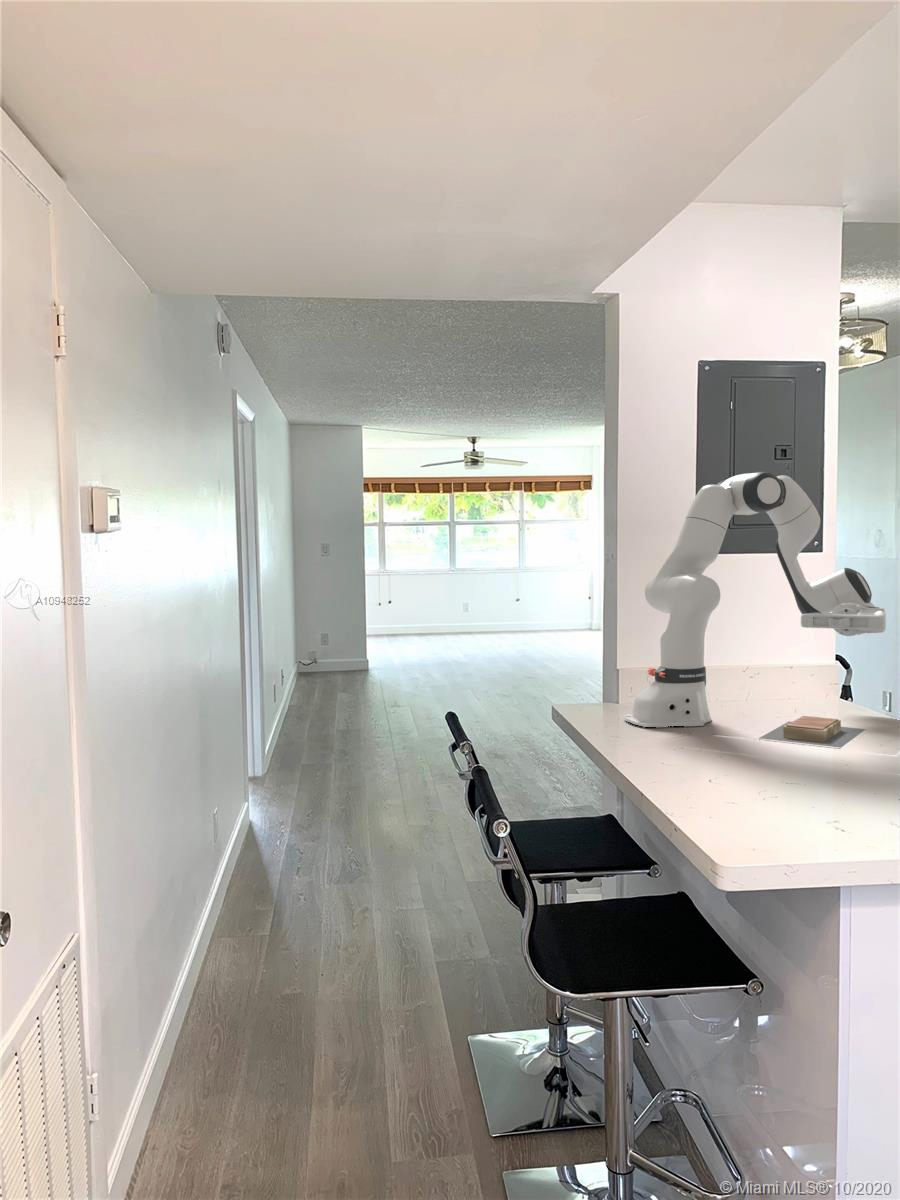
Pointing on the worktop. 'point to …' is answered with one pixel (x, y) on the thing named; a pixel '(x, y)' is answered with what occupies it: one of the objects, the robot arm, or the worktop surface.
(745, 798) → the worktop surface
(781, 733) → the rubber mat
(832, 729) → the flat wooden block
